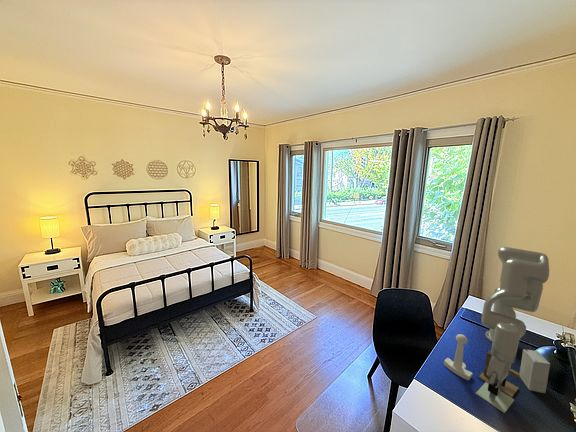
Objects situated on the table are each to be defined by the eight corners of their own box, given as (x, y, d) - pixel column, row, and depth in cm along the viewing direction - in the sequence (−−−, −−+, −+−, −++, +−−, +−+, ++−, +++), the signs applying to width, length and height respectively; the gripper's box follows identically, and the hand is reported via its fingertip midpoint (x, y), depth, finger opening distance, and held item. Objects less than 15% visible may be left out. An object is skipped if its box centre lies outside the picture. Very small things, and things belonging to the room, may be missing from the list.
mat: (485, 383, 111) (485, 381, 111) (514, 400, 102) (514, 399, 102) (475, 393, 106) (475, 392, 106) (504, 413, 97) (504, 412, 97)
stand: (486, 370, 118) (490, 347, 115) (519, 389, 107) (524, 364, 105) (478, 377, 114) (482, 354, 111) (512, 398, 103) (517, 373, 101)
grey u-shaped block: (495, 389, 106) (498, 374, 105) (501, 392, 105) (503, 377, 103) (488, 397, 103) (491, 382, 101) (494, 400, 101) (497, 385, 100)
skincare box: (545, 394, 105) (552, 365, 102) (528, 390, 107) (534, 362, 104) (533, 377, 113) (539, 350, 110) (517, 374, 115) (522, 348, 112)
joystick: (442, 365, 121) (447, 330, 117) (450, 358, 125) (455, 324, 121) (467, 381, 112) (473, 344, 108) (475, 374, 115) (481, 338, 111)
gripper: (500, 339, 107) (494, 372, 111) (482, 355, 98) (476, 391, 102) (522, 350, 101) (515, 385, 104) (506, 368, 92) (498, 406, 96)
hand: (496, 388), depth 103 cm, fingers closed on grey u-shaped block, 7 cm apart
